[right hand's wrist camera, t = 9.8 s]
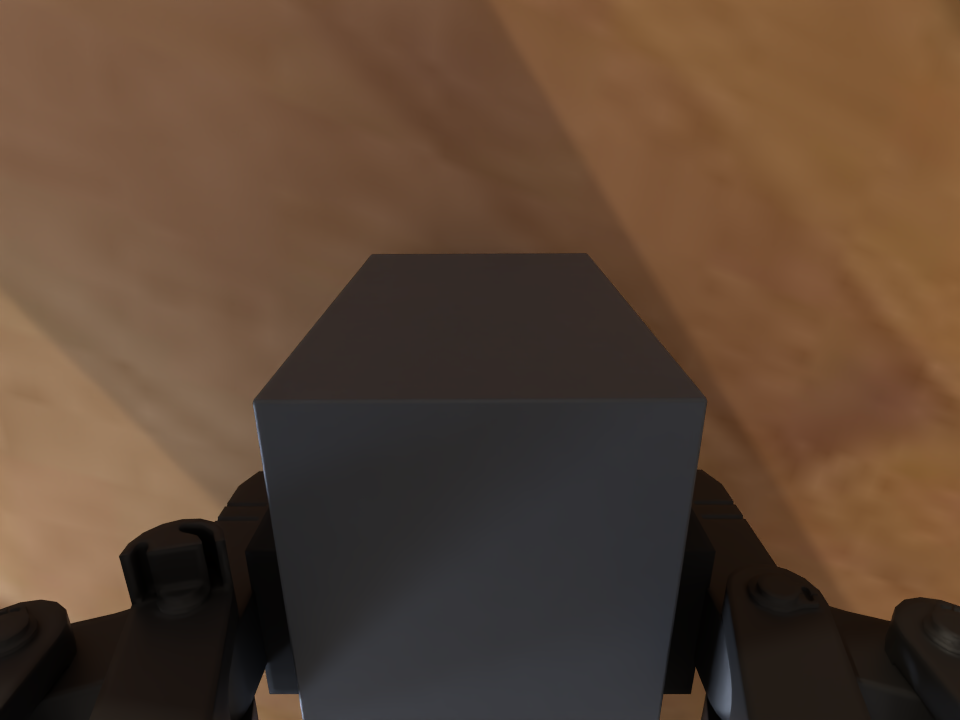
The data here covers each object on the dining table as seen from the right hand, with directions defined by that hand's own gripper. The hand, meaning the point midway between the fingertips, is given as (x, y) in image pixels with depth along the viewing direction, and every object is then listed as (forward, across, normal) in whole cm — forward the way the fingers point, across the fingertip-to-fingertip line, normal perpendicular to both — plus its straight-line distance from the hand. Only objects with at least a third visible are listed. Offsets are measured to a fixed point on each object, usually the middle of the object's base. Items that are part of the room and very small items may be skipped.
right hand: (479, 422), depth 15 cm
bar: (+1, 0, -21) cm, 21 cm away
